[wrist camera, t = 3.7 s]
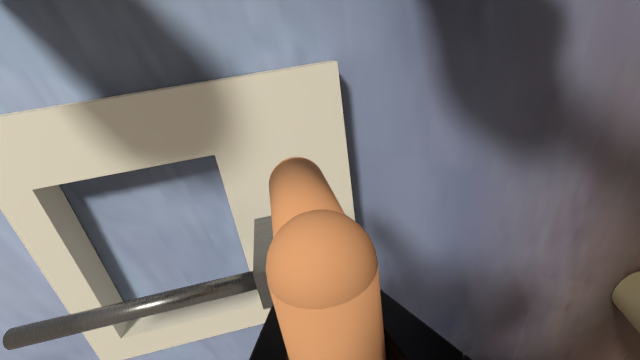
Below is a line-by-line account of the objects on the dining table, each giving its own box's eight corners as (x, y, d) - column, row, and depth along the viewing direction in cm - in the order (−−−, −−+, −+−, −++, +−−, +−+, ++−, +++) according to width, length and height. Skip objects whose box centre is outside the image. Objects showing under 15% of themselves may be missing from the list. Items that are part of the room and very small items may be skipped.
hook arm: (276, 214, 20) (282, 267, 15) (283, 243, 21) (291, 302, 16) (55, 262, 19) (-20, 339, 14) (74, 291, 20) (10, 373, 15)
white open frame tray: (329, 60, 19) (337, 61, 17) (356, 280, 26) (363, 297, 24) (-21, 117, 17) (-55, 126, 15) (115, 341, 24) (103, 364, 22)
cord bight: (320, 138, 10) (393, 236, 5) (346, 313, 14) (408, 492, 8) (255, 151, 10) (252, 271, 4) (298, 326, 13) (328, 520, 8)
